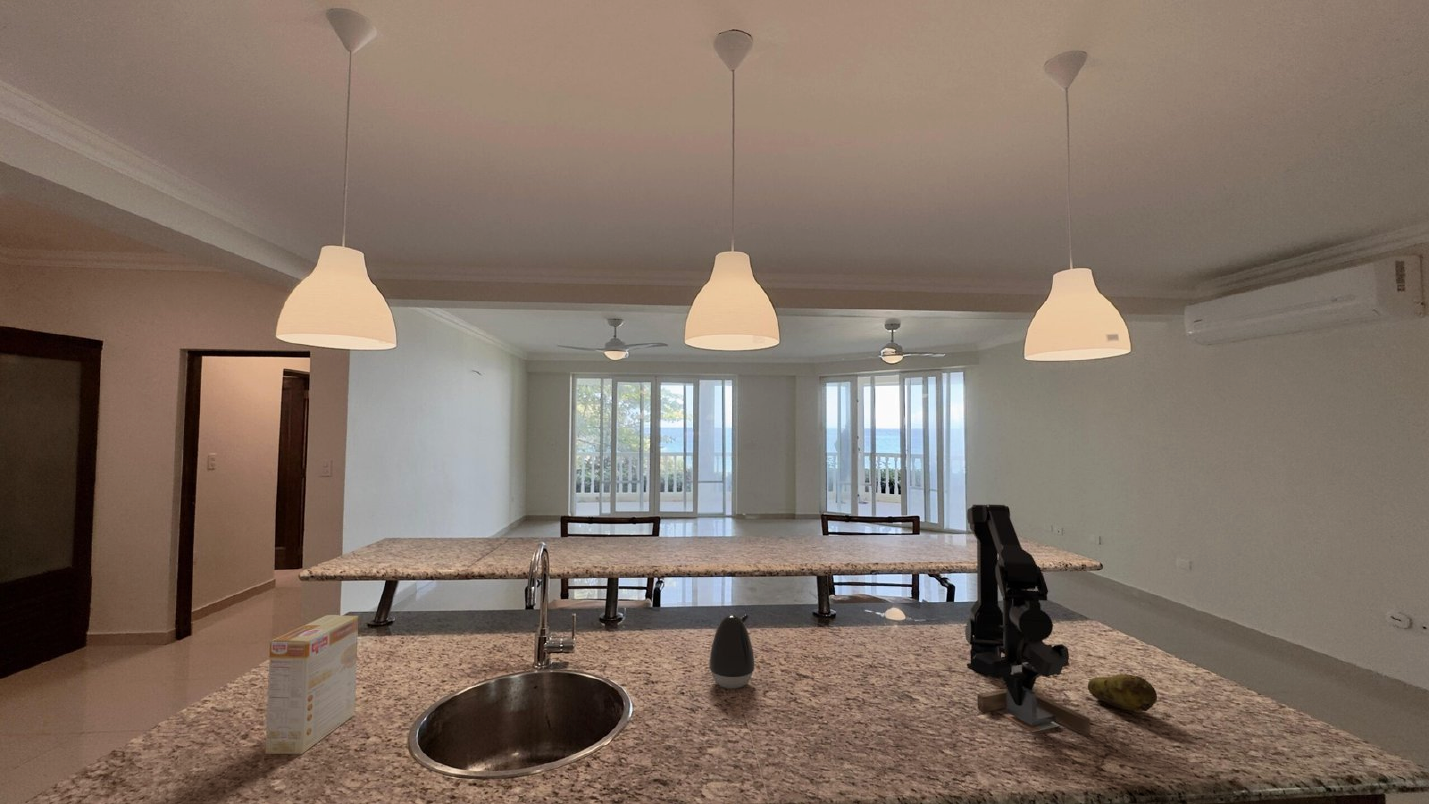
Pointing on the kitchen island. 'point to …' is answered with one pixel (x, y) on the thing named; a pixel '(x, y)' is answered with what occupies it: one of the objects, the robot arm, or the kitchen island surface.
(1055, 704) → the wooden l-shaped block
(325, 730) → the coffeecake box
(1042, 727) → the pad
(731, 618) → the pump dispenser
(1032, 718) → the bracket
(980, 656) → the robot arm
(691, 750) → the kitchen island surface
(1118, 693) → the potato
